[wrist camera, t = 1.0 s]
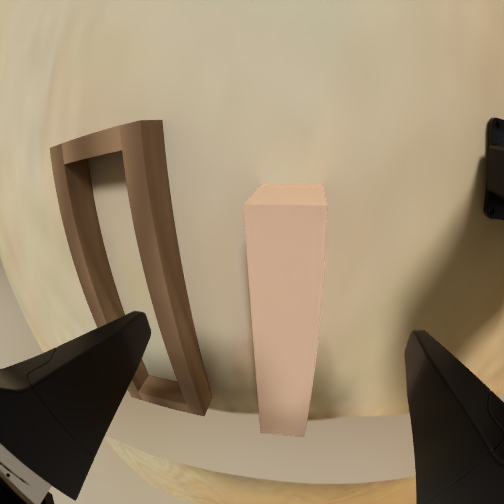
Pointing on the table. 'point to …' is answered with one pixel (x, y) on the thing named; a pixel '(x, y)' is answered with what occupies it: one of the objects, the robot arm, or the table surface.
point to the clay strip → (285, 298)
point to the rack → (150, 247)
